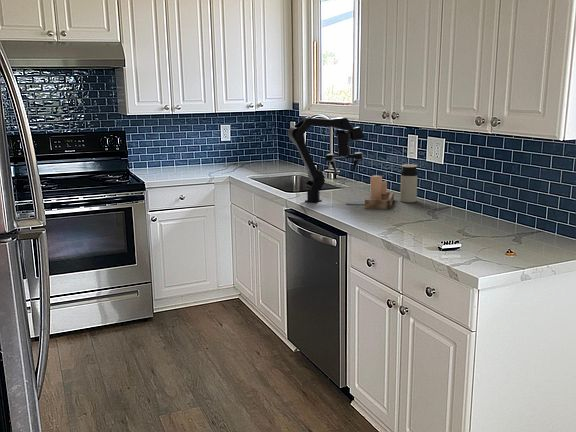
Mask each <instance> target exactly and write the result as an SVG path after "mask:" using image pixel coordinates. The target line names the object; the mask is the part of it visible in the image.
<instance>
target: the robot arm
mask: <svg viewBox="0 0 576 432" xmlns="http://www.w3.org/2000/svg"><path fill="white" fill-rule="evenodd" d="M311 126H313V127H314V126H315V127H329V128H334V129H335V130H334V131H333V132H332V135H334V136H336V140H337V146H336V152H337V153H338V154H335V153H327V154H326V155H325V156H324V160H325V162H327V163H330V165H331V167H332V168H333V171H334V173H335V174H338V170H337V165H336V163H337V162H336V159H353V158H354V159H353V171H352V172H353V174H355V173H356V169H357V166H358V163H359V162H360V161H361V160H362V159H364V153H363V151H360V152H359V151H355V152H354V153H351V152H352V150H351V147H350V142H358V141H363V140H364V133H363V129H362V127H361V126H356V127H353V126H352V125H351V123H350V121H349V118H347V117H333V118H320V117H319V118H318V117H317V118H315V117H306V116H305V117H303V118H302V119H301V120H300V121H298V123H296V124H295V125H294V126H292V127H290V128H289V129H288V130H287V137H288V138H289V139H290V141H291V142H292V144H293V145H294V146H295V147H296V149H297V151H298V153H299V155H300V157H301V159H302V160H301V161H302V162H303V164H304V166H305V169H306V171H307V177H308V180H307V181H306V183H305V184H304V186H305V189H307V190H306V194H307V197H306V198H307V199H305V200H304V202H306V203H307V202H308V203H313V204H315V203H319V202H322V201H323V199H321V198H320V197H321V195H320V192H321V190H322V188H323V186H324V184H325V183H326V180H325V178H326V177H325V175H324V174H323V173H324V172H323V170H322V169H318V168H317V167H316V164H315V163H314V160H313V158H312V156H311V153H310V151H309V149H308V147H307V145H306V143H305V139H306V138H305V135H304V134H305V133H306V132H307V131H308V129H309V128H310V127H311Z"/></svg>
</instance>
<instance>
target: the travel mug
mask: <svg viewBox="0 0 576 432" xmlns="http://www.w3.org/2000/svg"><path fill="white" fill-rule="evenodd" d="M401 167H402V168H401V170H400V191H399V193H400V194H399V196H400V198H399V200H400V202H402V203H406V204H407V203H409V204H410V203H416V202H417V198H418V196H417V195H418V175H419V174H418V170H417V167H418V165H417V164H413V163H411V164H409V163H408V164H405V163H404V164H402V165H401Z"/></svg>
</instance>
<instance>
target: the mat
mask: <svg viewBox="0 0 576 432" xmlns="http://www.w3.org/2000/svg"><path fill="white" fill-rule="evenodd" d="M346 206H365V199H349V200H348V201H347V203H346Z"/></svg>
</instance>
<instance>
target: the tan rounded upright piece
mask: <svg viewBox="0 0 576 432" xmlns="http://www.w3.org/2000/svg"><path fill="white" fill-rule="evenodd" d="M369 184H370V185H369V186H370V187H369V188H370V190H369V199H373V200H382V194H387V192H388V181H386V180H385V181H383V176H382V175H377V174H376V175H371V176H370V182H369Z"/></svg>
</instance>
